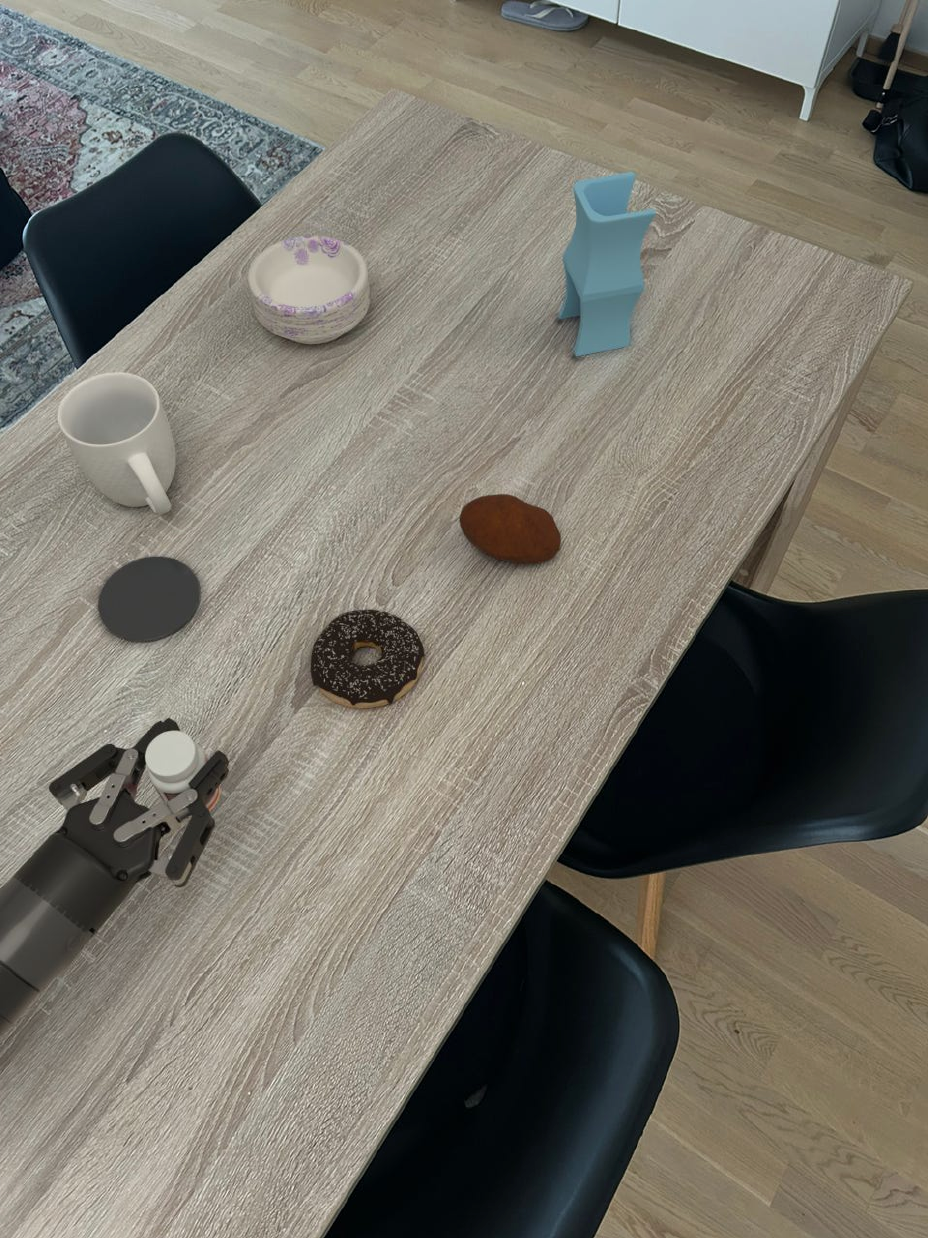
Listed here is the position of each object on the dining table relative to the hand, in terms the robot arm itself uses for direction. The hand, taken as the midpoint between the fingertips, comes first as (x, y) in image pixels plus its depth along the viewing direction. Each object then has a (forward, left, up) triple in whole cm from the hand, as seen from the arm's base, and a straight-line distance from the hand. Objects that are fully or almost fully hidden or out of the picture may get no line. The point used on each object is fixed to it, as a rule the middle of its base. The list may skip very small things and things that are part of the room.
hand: (199, 740), depth 86 cm
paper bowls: (-2, +70, -18) cm, 72 cm away
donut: (+11, +18, -18) cm, 27 cm away
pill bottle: (-1, -2, -6) cm, 7 cm away
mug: (-18, +40, -18) cm, 47 cm away
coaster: (-14, +25, -17) cm, 33 cm away
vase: (+35, +70, -18) cm, 80 cm away
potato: (+25, +34, -18) cm, 45 cm away
